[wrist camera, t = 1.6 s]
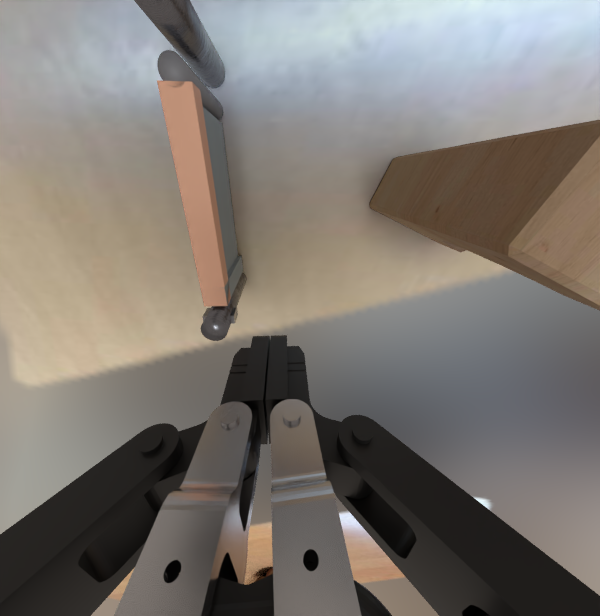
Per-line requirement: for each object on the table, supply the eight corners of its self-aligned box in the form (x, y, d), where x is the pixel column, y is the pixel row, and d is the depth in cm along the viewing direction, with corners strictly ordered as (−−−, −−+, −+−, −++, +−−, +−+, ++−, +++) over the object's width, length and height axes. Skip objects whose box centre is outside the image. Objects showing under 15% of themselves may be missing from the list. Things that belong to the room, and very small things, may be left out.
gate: (201, 98, 22) (150, 49, 13) (223, 98, 22) (187, 50, 13) (226, 270, 29) (204, 306, 21) (243, 270, 30) (227, 305, 21)
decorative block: (470, 200, 28) (778, 238, 11) (438, 245, 31) (647, 335, 13) (395, 153, 25) (642, 98, 8) (366, 206, 28) (507, 254, 10)
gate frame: (192, 51, 21) (99, -78, 10) (225, 52, 21) (166, -74, 10) (228, 286, 31) (199, 341, 21) (249, 286, 32) (232, 340, 21)
